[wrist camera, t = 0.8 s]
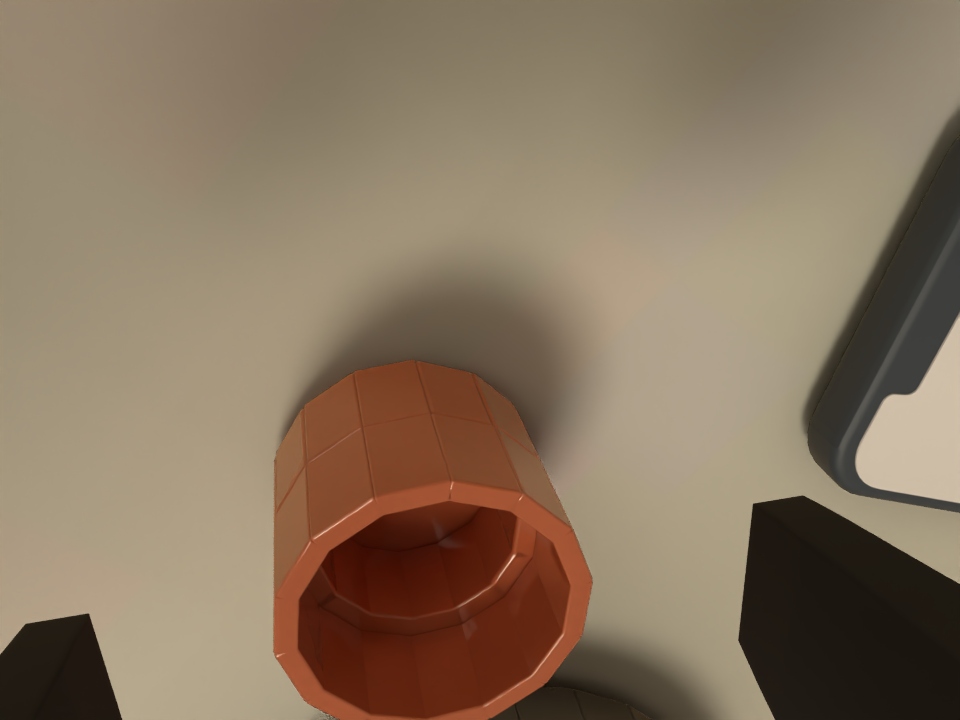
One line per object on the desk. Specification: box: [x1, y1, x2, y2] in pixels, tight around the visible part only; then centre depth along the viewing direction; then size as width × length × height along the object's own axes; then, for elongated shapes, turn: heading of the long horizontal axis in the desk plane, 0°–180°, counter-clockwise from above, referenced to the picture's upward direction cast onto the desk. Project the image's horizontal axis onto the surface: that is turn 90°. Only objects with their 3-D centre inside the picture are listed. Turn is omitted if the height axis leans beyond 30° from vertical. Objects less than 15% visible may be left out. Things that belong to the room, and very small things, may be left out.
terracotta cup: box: [273, 360, 593, 720], centre depth 17 cm, size 5×5×5 cm
